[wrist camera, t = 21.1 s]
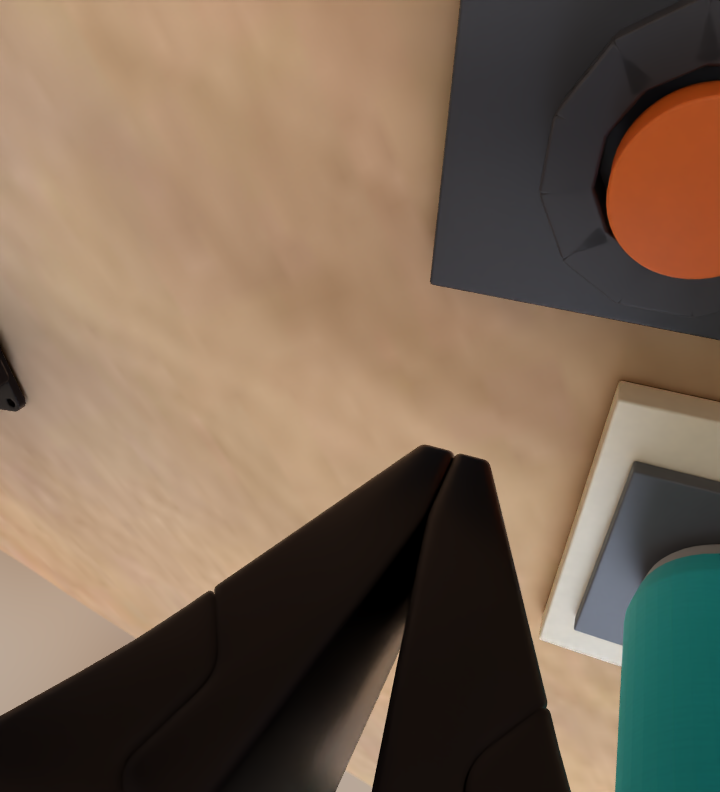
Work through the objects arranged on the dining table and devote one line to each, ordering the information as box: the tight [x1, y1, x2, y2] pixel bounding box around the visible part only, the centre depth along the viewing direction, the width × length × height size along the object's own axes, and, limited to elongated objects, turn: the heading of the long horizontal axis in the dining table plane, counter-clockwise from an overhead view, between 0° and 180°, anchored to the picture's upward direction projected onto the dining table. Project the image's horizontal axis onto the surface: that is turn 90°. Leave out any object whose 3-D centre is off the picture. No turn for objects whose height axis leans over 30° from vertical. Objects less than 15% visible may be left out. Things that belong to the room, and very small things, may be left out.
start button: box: [606, 80, 720, 279], centre depth 13 cm, size 4×4×2 cm
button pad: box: [430, 0, 720, 340], centre depth 15 cm, size 12×9×3 cm
